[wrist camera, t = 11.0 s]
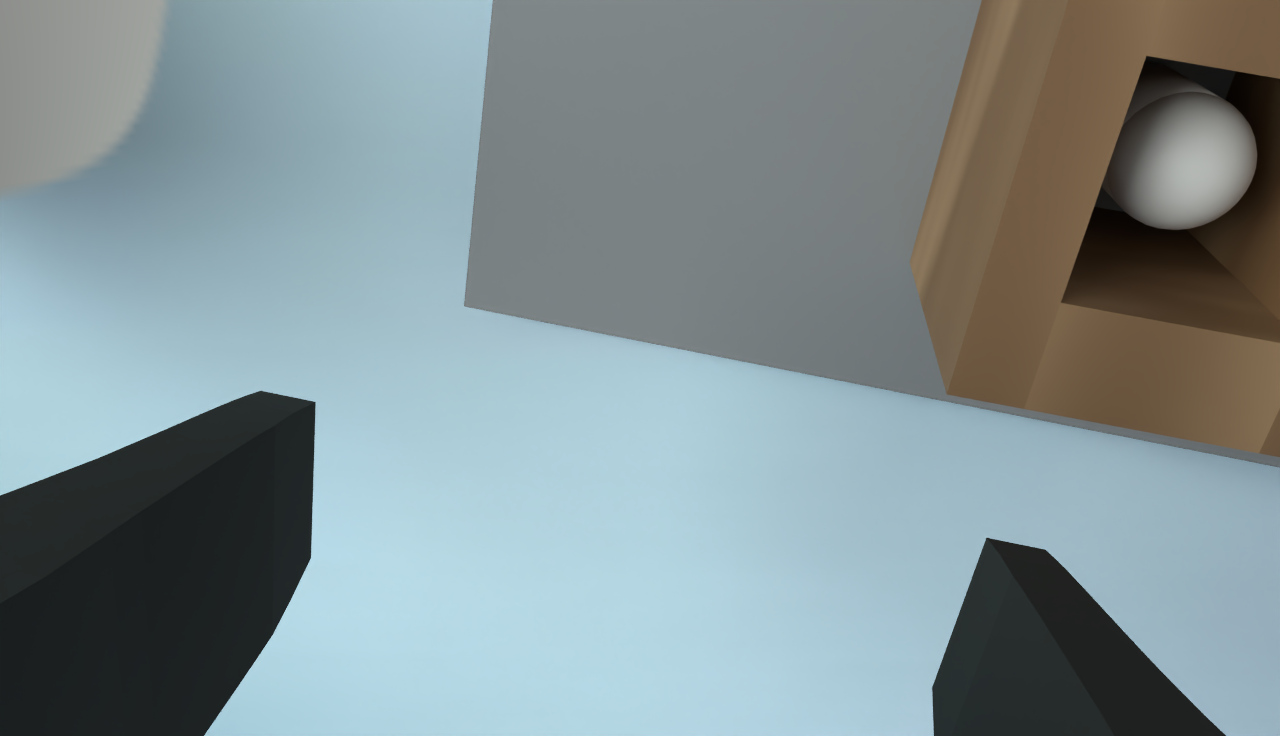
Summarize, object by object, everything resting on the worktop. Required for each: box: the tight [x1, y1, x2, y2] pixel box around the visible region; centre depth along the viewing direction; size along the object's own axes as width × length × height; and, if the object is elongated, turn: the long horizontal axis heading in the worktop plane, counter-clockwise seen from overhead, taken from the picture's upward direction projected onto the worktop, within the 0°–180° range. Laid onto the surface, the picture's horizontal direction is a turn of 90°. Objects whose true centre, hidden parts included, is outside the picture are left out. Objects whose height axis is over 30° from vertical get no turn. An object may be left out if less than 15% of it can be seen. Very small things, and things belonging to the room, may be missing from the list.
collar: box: [910, 0, 1280, 457], centre depth 15 cm, size 5×6×5 cm
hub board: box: [464, 0, 1280, 467], centre depth 15 cm, size 20×14×5 cm
